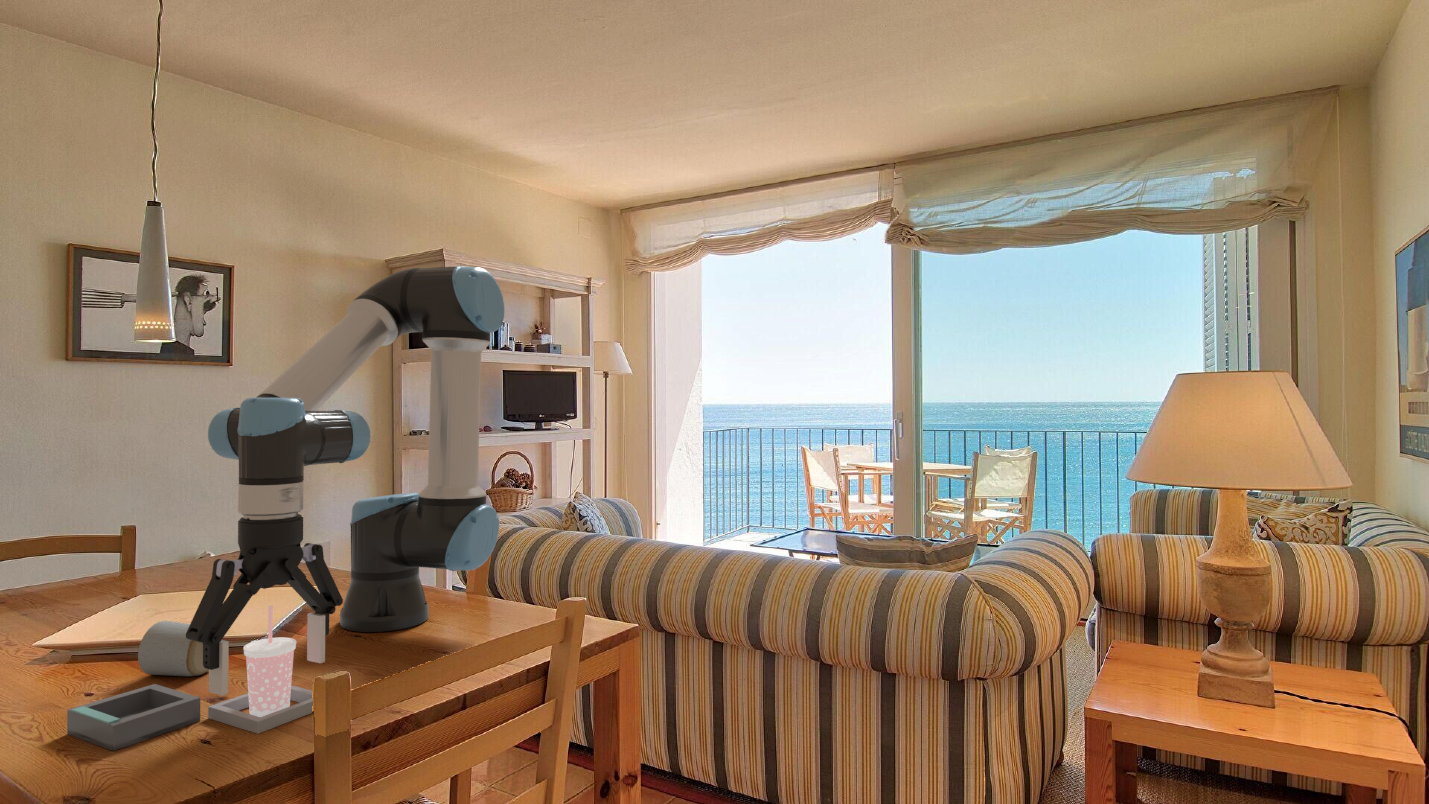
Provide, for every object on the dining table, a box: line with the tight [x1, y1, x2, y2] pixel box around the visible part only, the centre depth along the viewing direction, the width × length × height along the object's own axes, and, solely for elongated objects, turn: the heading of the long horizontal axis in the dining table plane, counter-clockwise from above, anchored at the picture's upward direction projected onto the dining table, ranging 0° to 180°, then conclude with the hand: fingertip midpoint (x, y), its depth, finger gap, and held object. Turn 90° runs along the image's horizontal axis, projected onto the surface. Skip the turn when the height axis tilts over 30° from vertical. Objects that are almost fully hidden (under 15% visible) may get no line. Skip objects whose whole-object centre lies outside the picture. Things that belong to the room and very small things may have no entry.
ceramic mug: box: [137, 620, 209, 677], centre depth 122 cm, size 11×8×8 cm
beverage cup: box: [243, 605, 297, 717], centre depth 107 cm, size 6×6×14 cm
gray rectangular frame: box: [207, 684, 313, 735], centre depth 107 cm, size 10×10×2 cm
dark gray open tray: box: [66, 683, 201, 752], centre depth 101 cm, size 10×10×3 cm
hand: (270, 676), depth 107 cm, fingers open, 13 cm apart
